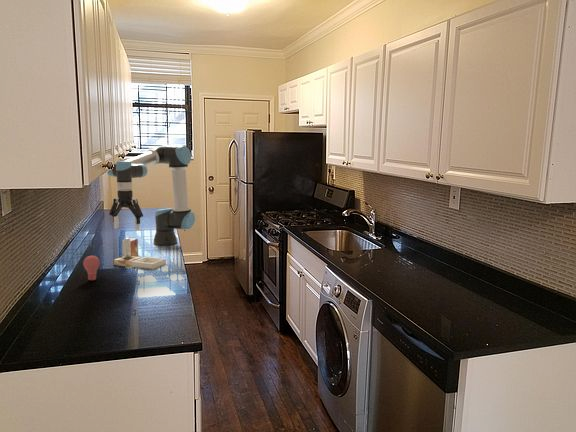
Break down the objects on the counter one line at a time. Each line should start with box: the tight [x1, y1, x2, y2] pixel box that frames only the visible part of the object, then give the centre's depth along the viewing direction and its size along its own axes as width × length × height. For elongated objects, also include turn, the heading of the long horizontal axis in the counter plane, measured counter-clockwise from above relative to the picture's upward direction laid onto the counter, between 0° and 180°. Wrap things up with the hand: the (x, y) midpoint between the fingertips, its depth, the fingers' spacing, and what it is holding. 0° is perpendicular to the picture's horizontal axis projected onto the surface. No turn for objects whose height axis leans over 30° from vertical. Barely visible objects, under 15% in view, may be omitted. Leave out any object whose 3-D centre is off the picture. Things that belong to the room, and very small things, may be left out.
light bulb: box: [82, 255, 100, 281], centre depth 208 cm, size 7×7×12 cm
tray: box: [131, 256, 167, 271], centre depth 236 cm, size 12×13×3 cm
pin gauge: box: [123, 237, 131, 260], centre depth 238 cm, size 3×3×14 cm
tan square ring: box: [113, 255, 142, 268], centre depth 239 cm, size 10×10×3 cm
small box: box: [121, 237, 139, 257], centre depth 252 cm, size 8×6×10 cm
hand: (126, 229), depth 236 cm, fingers open, 13 cm apart
